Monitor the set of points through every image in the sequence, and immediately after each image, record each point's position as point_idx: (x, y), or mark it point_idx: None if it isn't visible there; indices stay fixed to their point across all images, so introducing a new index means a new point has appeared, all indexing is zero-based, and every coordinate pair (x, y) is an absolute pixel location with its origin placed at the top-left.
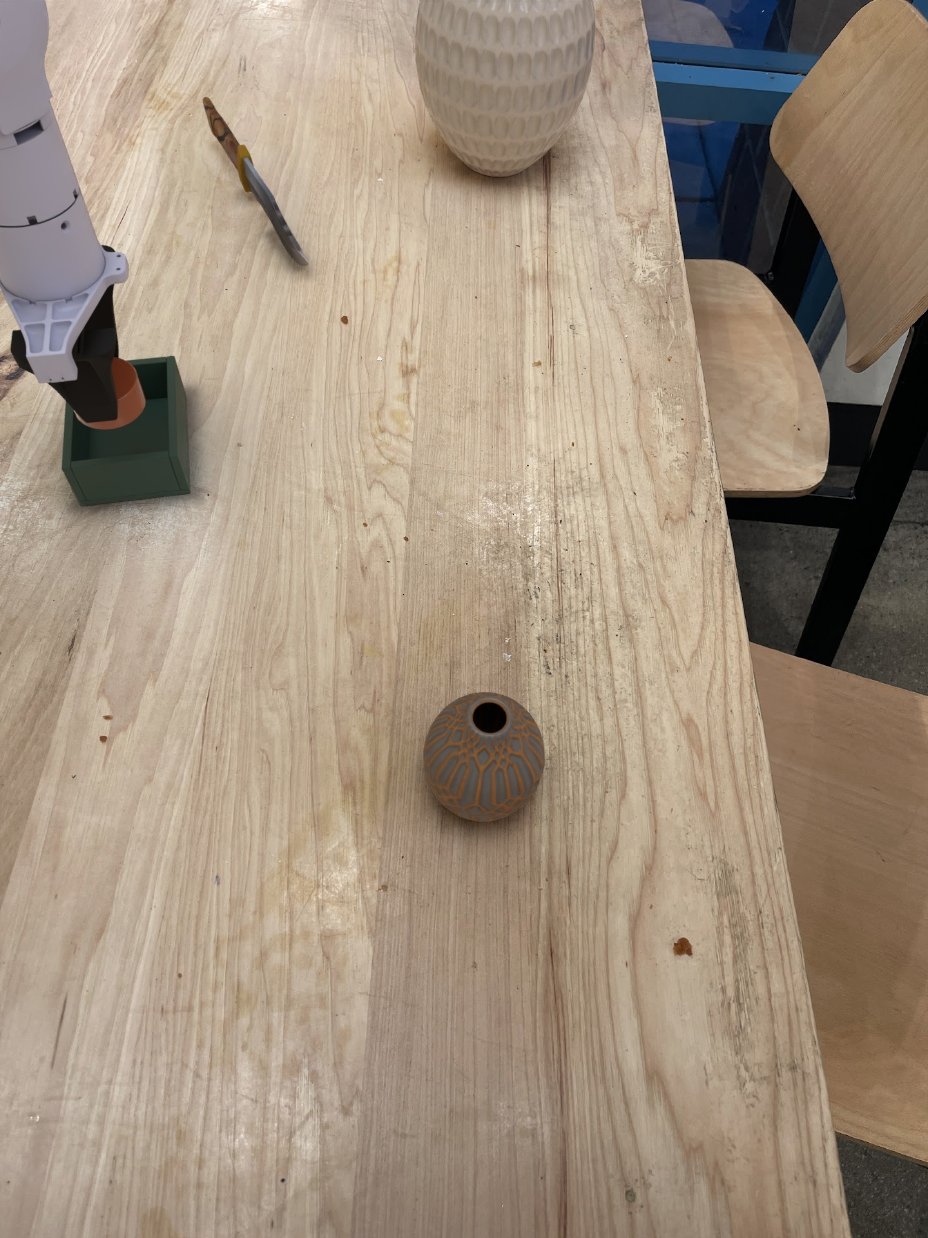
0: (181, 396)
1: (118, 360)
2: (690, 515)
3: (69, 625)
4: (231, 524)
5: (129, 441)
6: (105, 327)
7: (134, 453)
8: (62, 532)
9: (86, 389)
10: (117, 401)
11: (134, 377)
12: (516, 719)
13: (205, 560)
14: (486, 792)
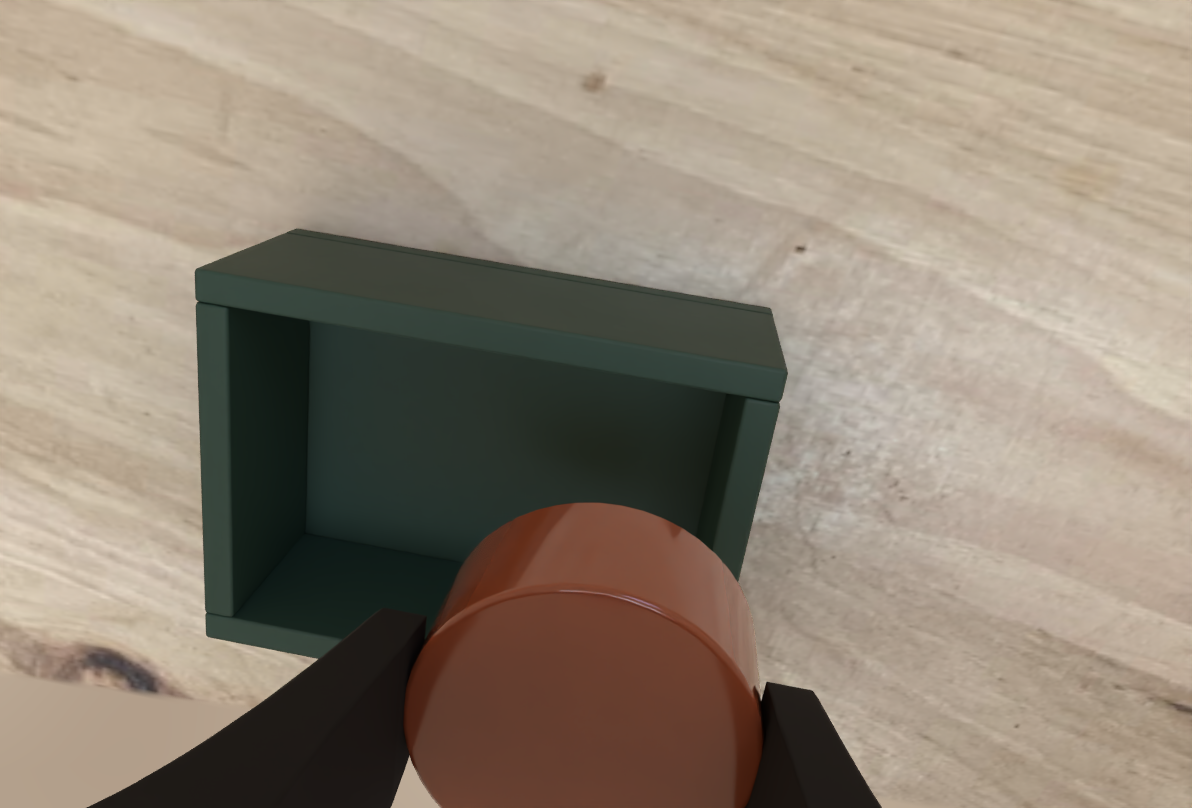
0: (363, 264)
1: (452, 645)
2: None
3: (1124, 709)
4: (972, 199)
5: (493, 454)
6: (328, 781)
7: (551, 449)
8: (781, 671)
9: None
10: (779, 716)
11: (609, 603)
12: None
13: (1089, 319)
14: None
